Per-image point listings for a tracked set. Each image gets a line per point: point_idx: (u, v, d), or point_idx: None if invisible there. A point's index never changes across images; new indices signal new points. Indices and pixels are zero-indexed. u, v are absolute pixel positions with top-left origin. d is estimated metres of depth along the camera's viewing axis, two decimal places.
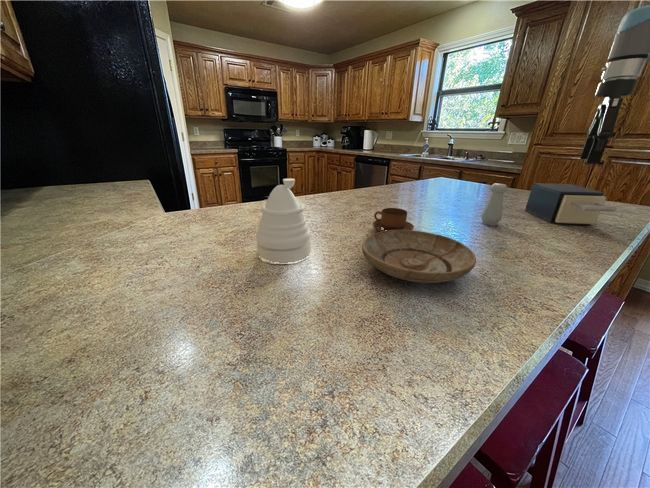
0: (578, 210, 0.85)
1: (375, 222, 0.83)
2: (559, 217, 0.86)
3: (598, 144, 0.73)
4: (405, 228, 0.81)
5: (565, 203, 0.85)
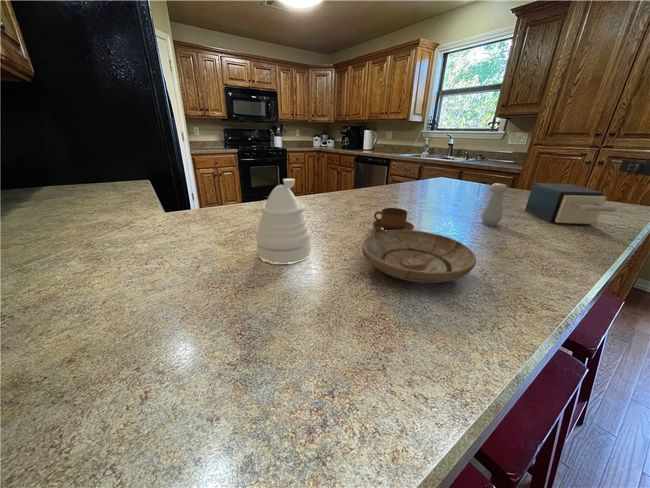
0: (578, 210, 0.85)
1: (375, 222, 0.83)
2: (559, 217, 0.86)
3: None
4: (405, 228, 0.81)
5: (565, 203, 0.85)
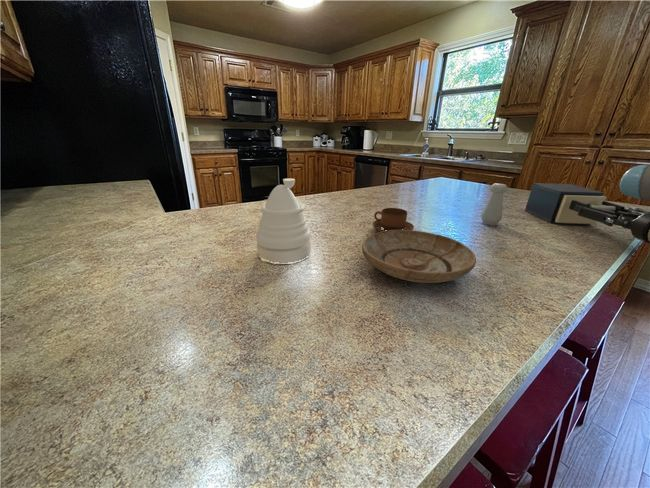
0: None
1: (375, 222, 0.83)
2: (559, 217, 0.86)
3: None
4: (405, 228, 0.81)
5: (565, 203, 0.85)
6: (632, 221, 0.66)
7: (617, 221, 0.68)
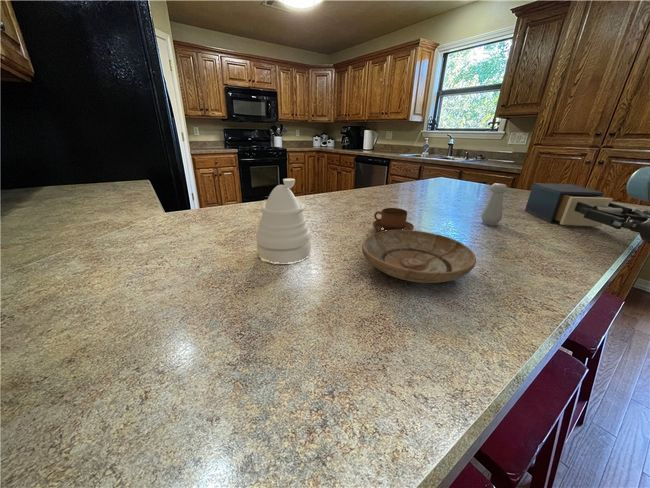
0: None
1: (375, 222, 0.83)
2: (564, 219, 0.84)
3: None
4: (405, 228, 0.81)
5: (570, 205, 0.82)
6: (641, 224, 0.64)
7: (625, 224, 0.66)
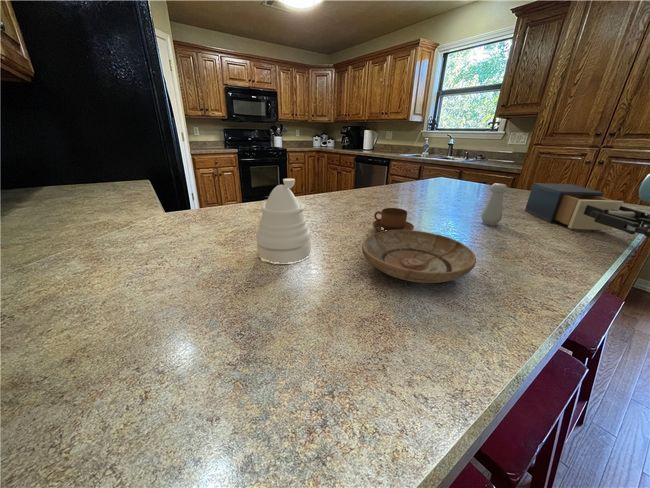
0: None
1: (375, 222, 0.83)
2: (573, 223, 0.81)
3: None
4: (405, 228, 0.81)
5: (579, 209, 0.79)
6: None
7: (639, 229, 0.62)
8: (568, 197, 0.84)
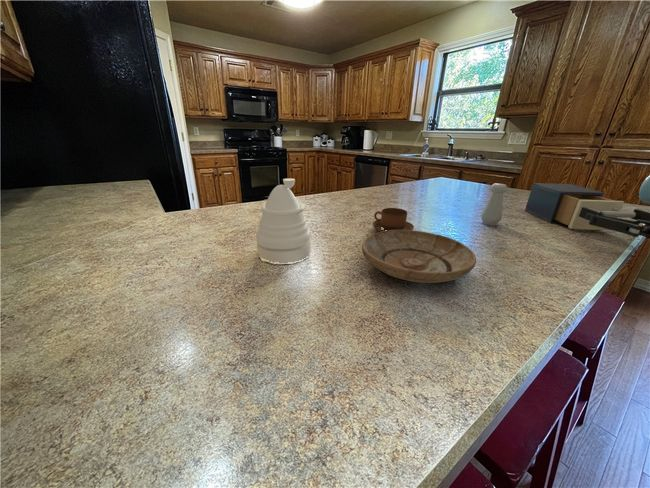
0: None
1: (375, 222, 0.83)
2: (573, 223, 0.81)
3: None
4: (405, 228, 0.81)
5: (579, 209, 0.79)
6: None
7: (643, 231, 0.62)
8: (568, 197, 0.84)
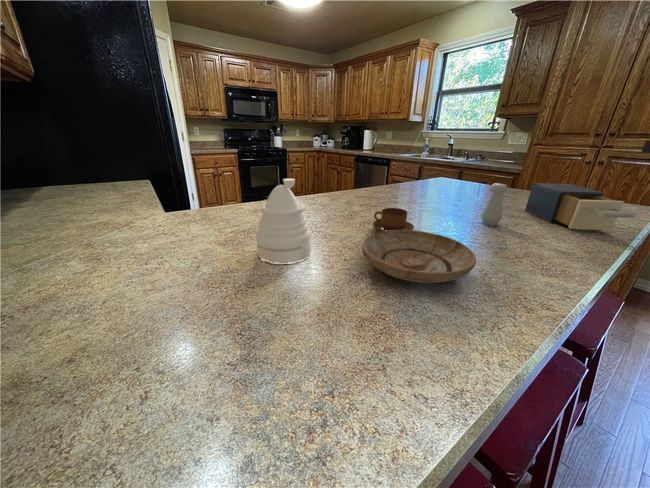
0: (594, 216, 0.79)
1: (375, 222, 0.83)
2: (573, 223, 0.81)
3: None
4: (405, 228, 0.81)
5: (579, 209, 0.79)
6: None
7: None
8: (568, 197, 0.84)
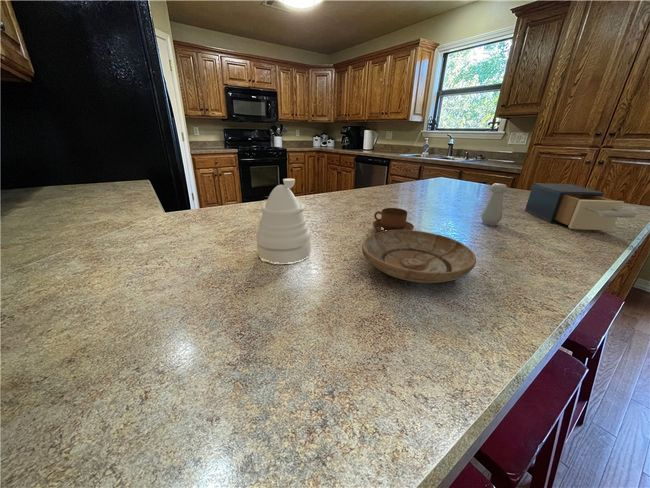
0: (594, 216, 0.79)
1: (375, 222, 0.83)
2: (573, 223, 0.81)
3: None
4: (405, 228, 0.81)
5: (579, 209, 0.79)
6: None
7: None
8: (568, 197, 0.84)
